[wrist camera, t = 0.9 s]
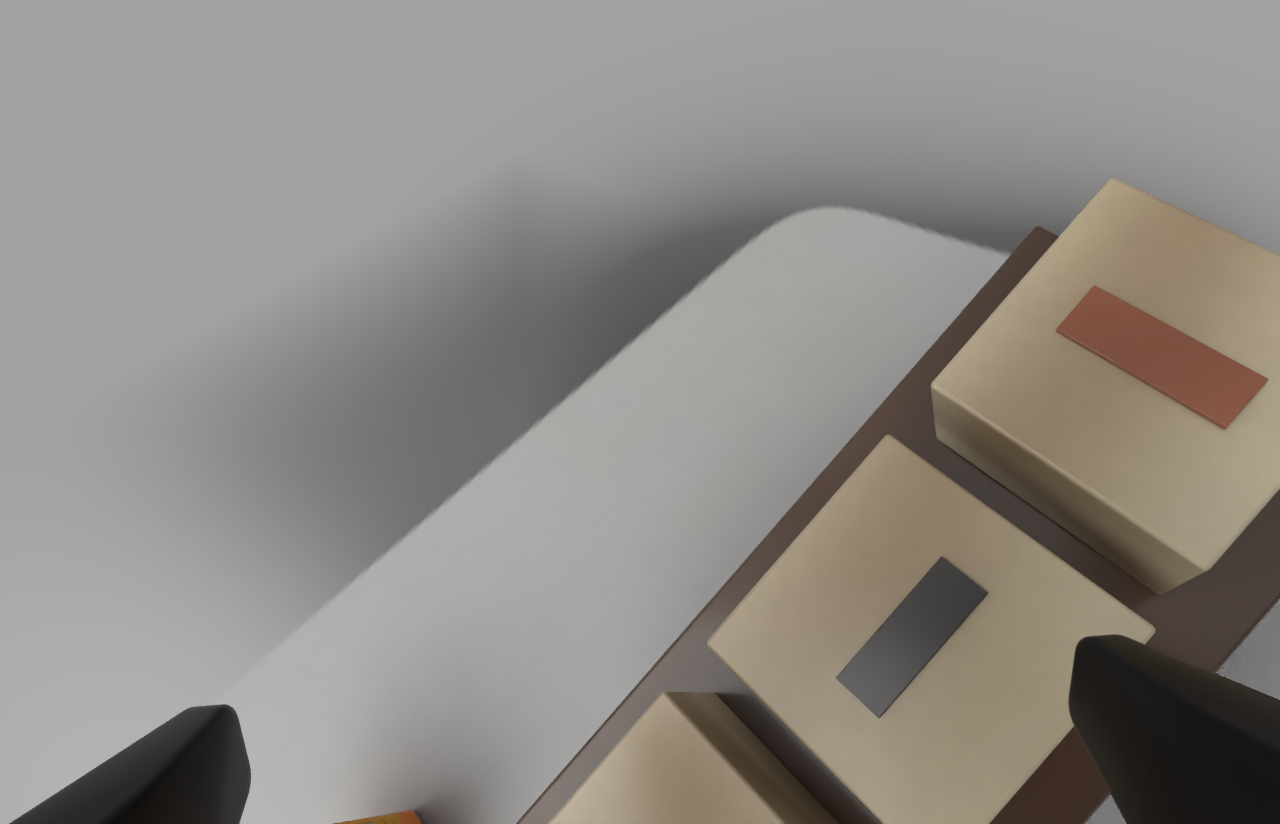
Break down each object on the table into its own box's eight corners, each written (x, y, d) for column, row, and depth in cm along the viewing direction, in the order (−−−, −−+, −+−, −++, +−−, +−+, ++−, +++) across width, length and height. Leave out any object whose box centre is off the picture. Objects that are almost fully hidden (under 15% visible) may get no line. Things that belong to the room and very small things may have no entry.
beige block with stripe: (1336, 394, 13) (1431, 316, 11) (1160, 597, 13) (1210, 571, 11) (1086, 263, 16) (1112, 169, 13) (934, 437, 16) (928, 382, 13)
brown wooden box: (1240, 537, 22) (1556, 354, 10) (839, 1000, 22) (696, 1344, 10) (1011, 390, 25) (1051, 126, 13) (662, 791, 25) (403, 871, 13)
